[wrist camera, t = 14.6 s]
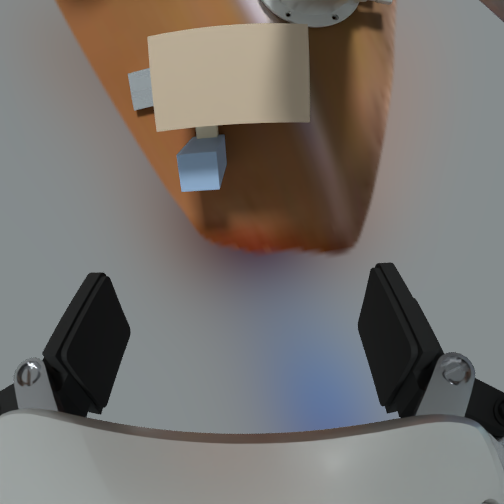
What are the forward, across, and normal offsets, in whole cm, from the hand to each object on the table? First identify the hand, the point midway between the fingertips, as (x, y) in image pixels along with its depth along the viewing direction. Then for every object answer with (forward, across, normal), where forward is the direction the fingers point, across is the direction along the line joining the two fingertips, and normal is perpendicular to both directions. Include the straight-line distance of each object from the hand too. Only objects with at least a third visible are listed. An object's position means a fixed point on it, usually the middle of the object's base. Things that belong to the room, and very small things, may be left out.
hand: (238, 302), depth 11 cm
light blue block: (+30, +5, -3) cm, 31 cm away
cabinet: (+30, +1, -8) cm, 31 cm away
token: (+31, +12, -7) cm, 34 cm away
